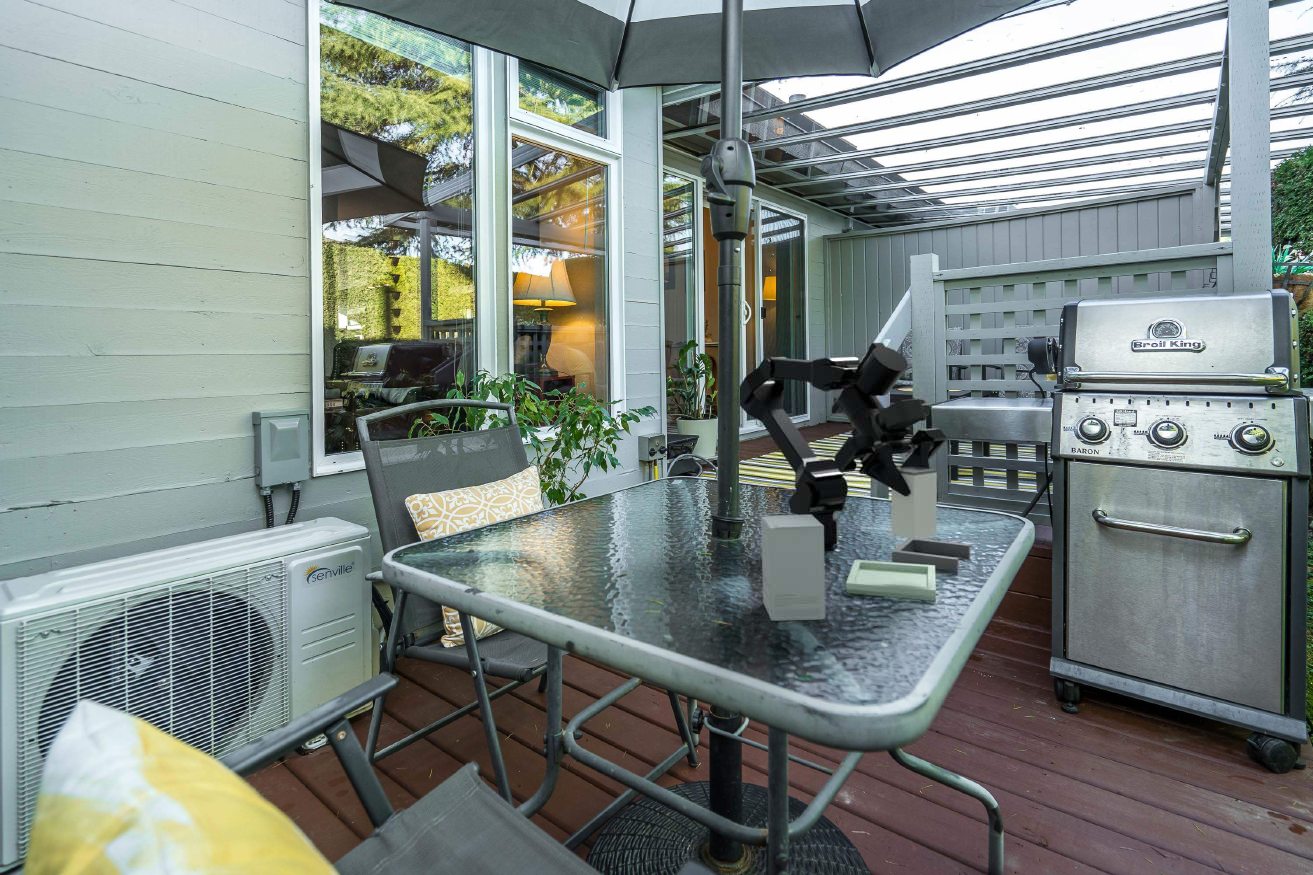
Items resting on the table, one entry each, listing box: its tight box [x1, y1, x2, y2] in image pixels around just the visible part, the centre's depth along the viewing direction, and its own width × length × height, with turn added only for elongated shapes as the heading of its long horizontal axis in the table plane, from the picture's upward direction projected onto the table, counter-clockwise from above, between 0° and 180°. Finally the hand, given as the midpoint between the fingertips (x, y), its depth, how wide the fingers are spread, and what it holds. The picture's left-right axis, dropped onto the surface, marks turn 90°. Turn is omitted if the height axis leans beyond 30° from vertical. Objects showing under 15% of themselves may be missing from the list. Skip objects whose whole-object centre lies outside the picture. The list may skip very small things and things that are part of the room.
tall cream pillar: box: [890, 466, 938, 540], centre depth 100 cm, size 4×4×10 cm
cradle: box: [891, 538, 971, 573], centre depth 110 cm, size 10×10×2 cm
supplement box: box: [760, 514, 826, 622], centre depth 89 cm, size 7×7×13 cm
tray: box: [845, 559, 937, 602], centre depth 99 cm, size 12×12×2 cm
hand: (920, 492), depth 99 cm, fingers closed on tall cream pillar, 4 cm apart
